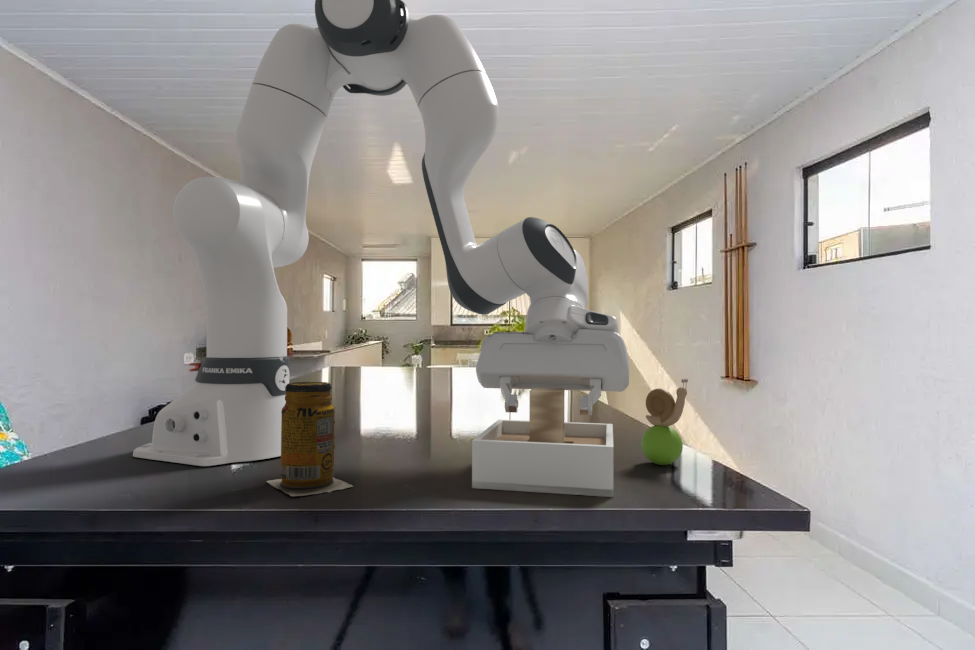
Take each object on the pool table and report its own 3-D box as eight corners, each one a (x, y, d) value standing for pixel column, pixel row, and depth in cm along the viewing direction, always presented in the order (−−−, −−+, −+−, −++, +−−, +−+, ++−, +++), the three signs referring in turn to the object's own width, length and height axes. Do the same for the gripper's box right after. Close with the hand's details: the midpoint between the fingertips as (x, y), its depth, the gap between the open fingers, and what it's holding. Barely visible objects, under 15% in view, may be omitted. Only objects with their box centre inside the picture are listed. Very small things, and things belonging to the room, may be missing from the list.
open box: (472, 488, 66) (472, 440, 66) (498, 458, 82) (498, 419, 82) (613, 497, 63) (613, 446, 63) (612, 463, 78) (612, 423, 79)
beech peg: (529, 471, 71) (529, 390, 71) (533, 464, 75) (533, 387, 75) (561, 473, 70) (561, 391, 70) (564, 465, 74) (564, 388, 74)
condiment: (323, 473, 73) (324, 379, 73) (353, 488, 66) (354, 384, 66) (265, 483, 68) (266, 382, 68) (291, 499, 62) (292, 388, 62)
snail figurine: (675, 472, 74) (675, 379, 74) (633, 464, 79) (633, 376, 79) (696, 466, 77) (697, 377, 77) (655, 458, 82) (655, 374, 82)
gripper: (480, 317, 81) (463, 392, 72) (628, 317, 77) (630, 397, 68) (487, 347, 86) (471, 422, 76) (627, 349, 81) (629, 429, 72)
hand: (547, 411), depth 72 cm, fingers open, 8 cm apart
